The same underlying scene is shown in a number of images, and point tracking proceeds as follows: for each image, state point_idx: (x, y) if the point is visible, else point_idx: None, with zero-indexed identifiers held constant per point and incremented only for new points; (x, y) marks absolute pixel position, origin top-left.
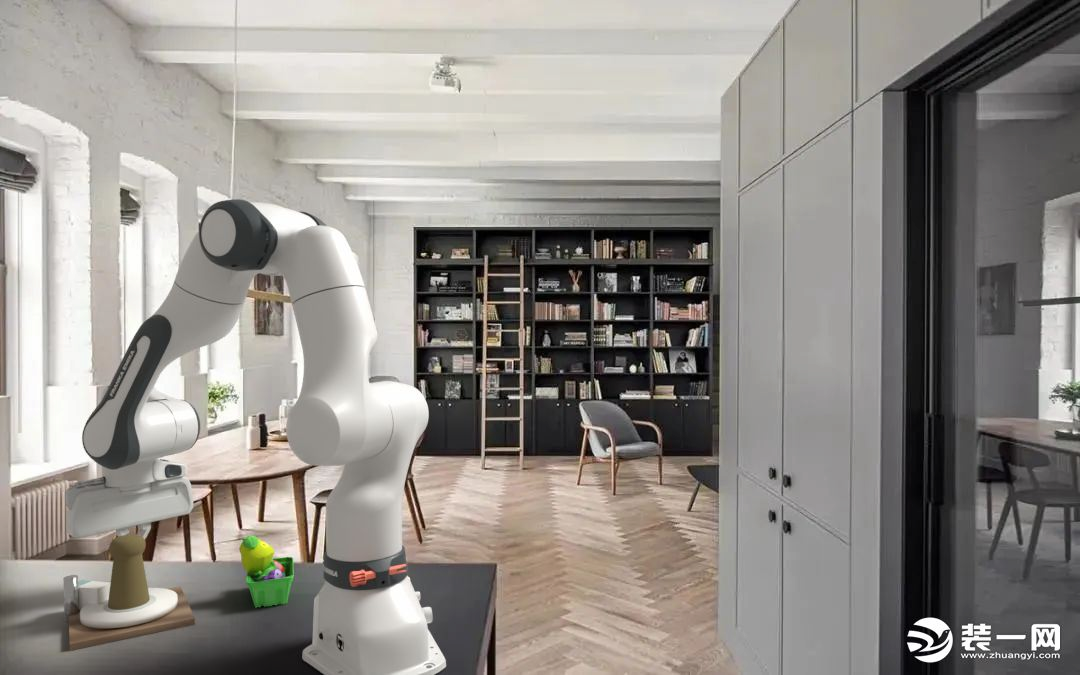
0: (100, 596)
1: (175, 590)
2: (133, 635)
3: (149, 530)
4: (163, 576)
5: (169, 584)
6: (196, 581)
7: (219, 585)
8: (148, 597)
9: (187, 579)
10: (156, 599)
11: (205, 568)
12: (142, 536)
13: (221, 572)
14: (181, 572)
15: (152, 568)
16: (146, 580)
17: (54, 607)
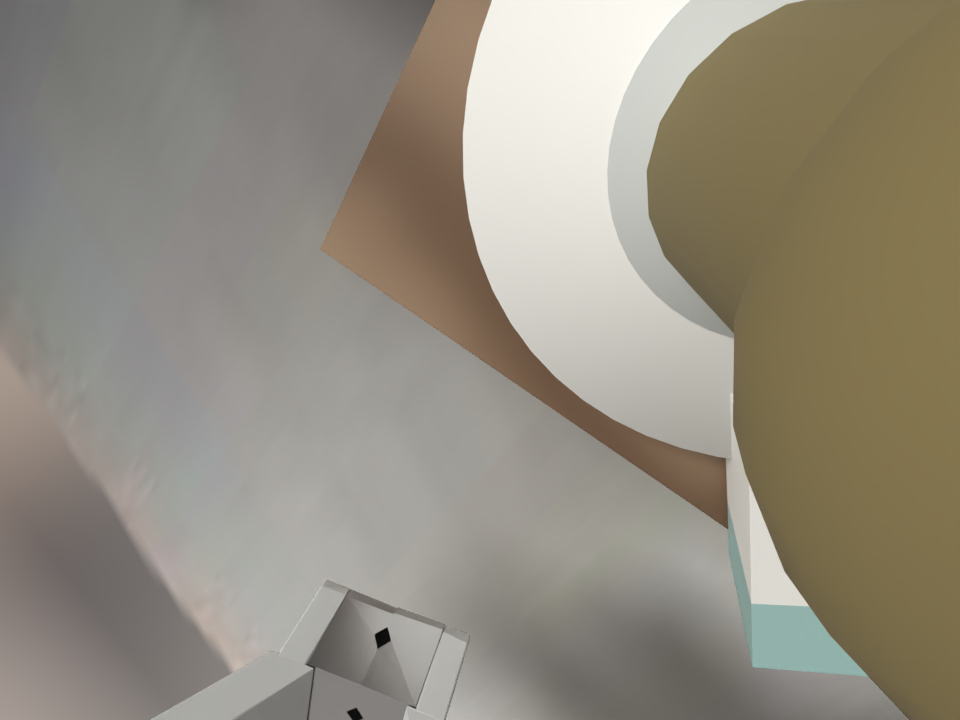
0: None
1: (374, 219)
2: None
3: (172, 711)
4: (264, 490)
5: (305, 388)
6: (208, 292)
7: (161, 107)
8: (732, 40)
9: (220, 358)
10: (665, 21)
11: (103, 391)
12: (279, 694)
13: (74, 273)
14: (193, 453)
15: (242, 592)
16: (730, 83)
17: (740, 653)
